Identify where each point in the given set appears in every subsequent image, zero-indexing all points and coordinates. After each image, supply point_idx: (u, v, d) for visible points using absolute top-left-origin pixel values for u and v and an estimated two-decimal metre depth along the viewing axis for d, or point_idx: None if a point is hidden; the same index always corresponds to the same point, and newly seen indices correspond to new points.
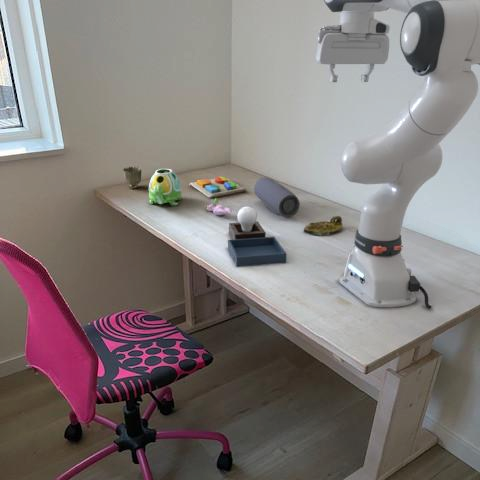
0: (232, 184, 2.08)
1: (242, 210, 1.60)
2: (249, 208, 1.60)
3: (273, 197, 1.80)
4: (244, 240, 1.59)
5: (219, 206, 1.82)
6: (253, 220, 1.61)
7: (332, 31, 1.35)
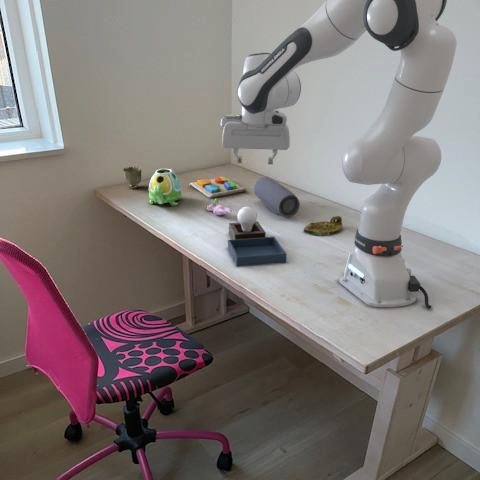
0: (232, 184, 2.08)
1: (242, 210, 1.60)
2: (249, 208, 1.60)
3: (273, 197, 1.80)
4: (244, 240, 1.59)
5: (219, 206, 1.82)
6: (253, 220, 1.61)
7: (233, 120, 1.47)
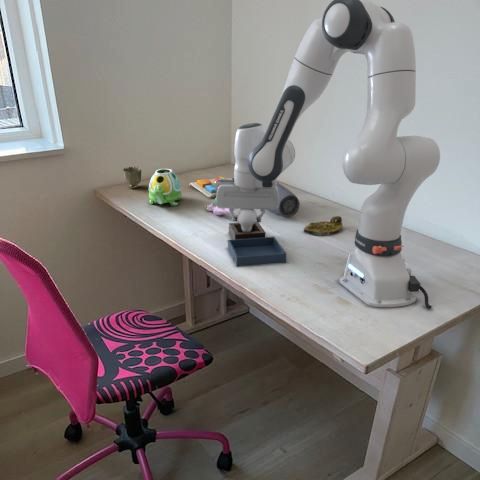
0: None
1: (242, 210, 1.60)
2: None
3: None
4: (244, 240, 1.59)
5: None
6: (253, 220, 1.61)
7: (226, 183, 1.57)
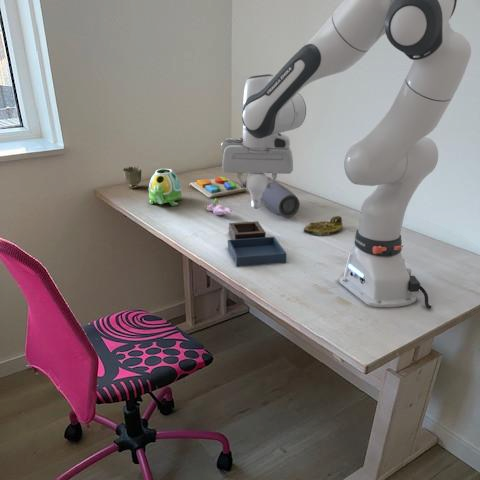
0: (232, 184, 2.08)
1: (251, 175, 1.44)
2: None
3: (273, 197, 1.80)
4: (244, 240, 1.59)
5: (219, 206, 1.82)
6: (264, 186, 1.45)
7: (234, 143, 1.41)
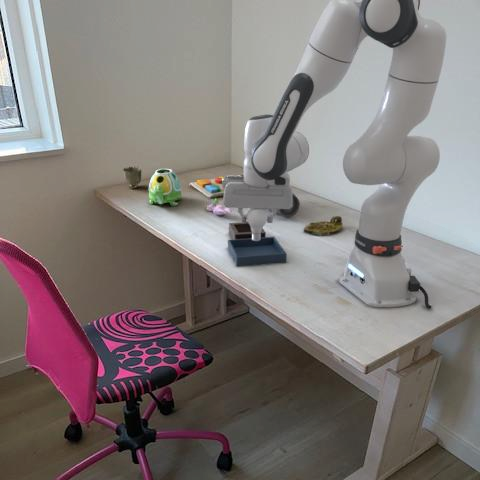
0: None
1: (252, 210, 1.47)
2: None
3: None
4: (244, 240, 1.59)
5: (219, 206, 1.82)
6: (264, 221, 1.47)
7: (235, 180, 1.43)
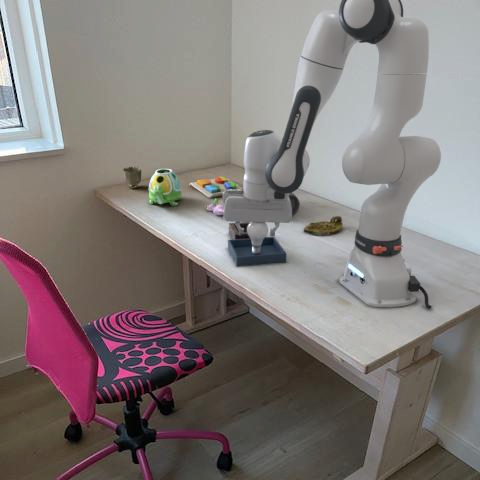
0: (232, 184, 2.08)
1: (252, 223, 1.49)
2: None
3: None
4: (244, 240, 1.59)
5: (219, 206, 1.82)
6: (264, 234, 1.50)
7: (235, 194, 1.45)
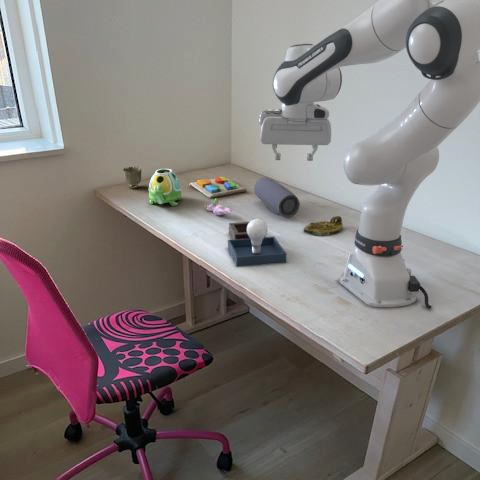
0: (232, 184, 2.08)
1: (252, 223, 1.50)
2: (259, 221, 1.50)
3: (273, 197, 1.80)
4: (244, 240, 1.59)
5: (219, 206, 1.82)
6: (263, 233, 1.50)
7: (273, 114, 1.41)
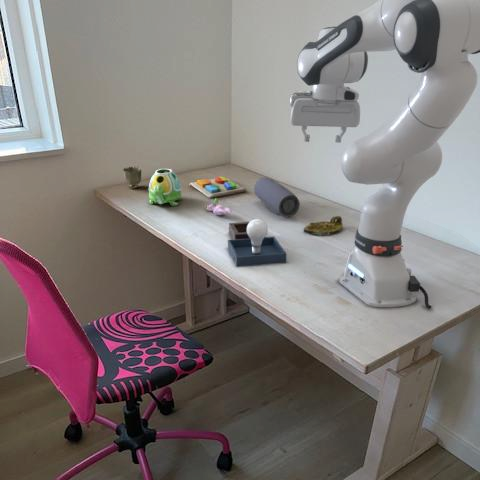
0: (232, 184, 2.08)
1: (252, 223, 1.49)
2: (259, 221, 1.50)
3: (273, 197, 1.80)
4: (244, 240, 1.59)
5: (219, 206, 1.82)
6: (263, 234, 1.50)
7: (303, 96, 1.45)
